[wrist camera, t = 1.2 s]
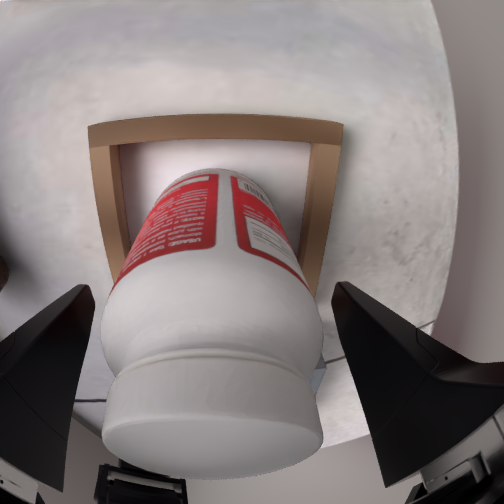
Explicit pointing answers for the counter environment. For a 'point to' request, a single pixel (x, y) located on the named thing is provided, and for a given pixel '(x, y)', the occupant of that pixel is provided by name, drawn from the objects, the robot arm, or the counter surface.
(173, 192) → the pill bottle
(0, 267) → the bolt
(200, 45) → the counter surface
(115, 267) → the wooden frame
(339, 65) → the counter surface
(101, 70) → the counter surface
